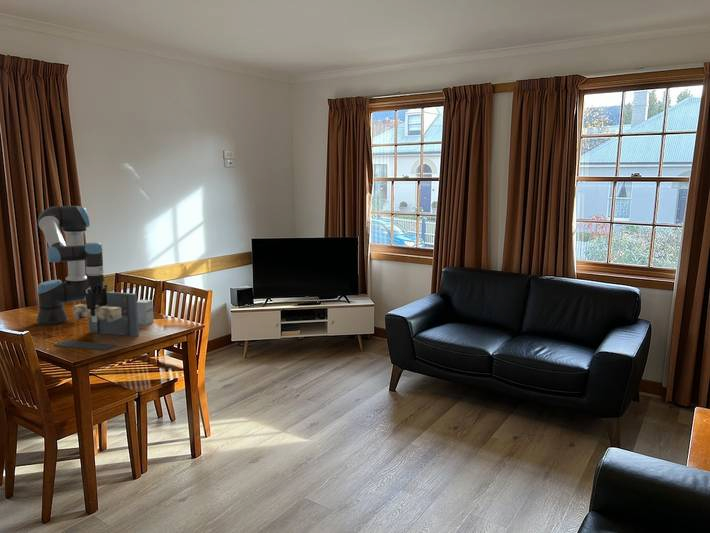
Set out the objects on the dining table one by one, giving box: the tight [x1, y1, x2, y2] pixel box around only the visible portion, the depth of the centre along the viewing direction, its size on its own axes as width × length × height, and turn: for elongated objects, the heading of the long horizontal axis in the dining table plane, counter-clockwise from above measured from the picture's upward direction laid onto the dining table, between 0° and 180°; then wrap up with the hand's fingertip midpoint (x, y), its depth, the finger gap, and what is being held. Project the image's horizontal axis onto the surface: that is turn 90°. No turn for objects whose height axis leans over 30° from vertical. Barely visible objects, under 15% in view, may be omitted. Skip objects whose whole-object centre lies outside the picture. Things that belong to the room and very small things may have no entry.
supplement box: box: [137, 299, 155, 326], centre depth 292 cm, size 7×7×13 cm
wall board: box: [88, 291, 140, 337], centre depth 270 cm, size 28×2×22 cm, turn 77°
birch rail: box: [73, 303, 122, 319], centre depth 259 cm, size 24×4×5 cm, turn 77°
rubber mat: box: [53, 339, 117, 352], centre depth 251 cm, size 28×8×1 cm, turn 77°
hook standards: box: [74, 296, 131, 338], centre depth 263 cm, size 20×14×21 cm
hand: (98, 320), depth 260 cm, fingers closed on birch rail, 4 cm apart
